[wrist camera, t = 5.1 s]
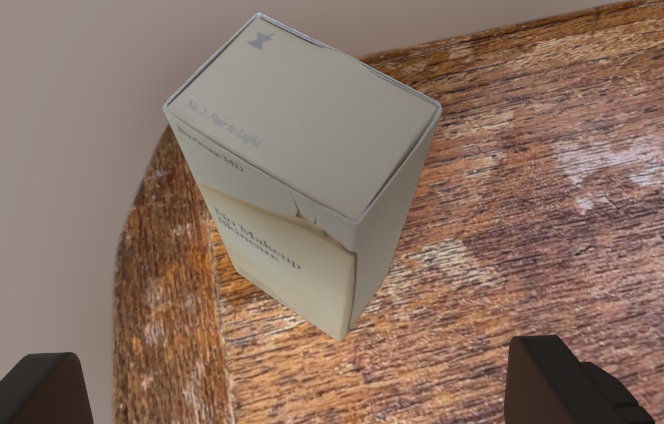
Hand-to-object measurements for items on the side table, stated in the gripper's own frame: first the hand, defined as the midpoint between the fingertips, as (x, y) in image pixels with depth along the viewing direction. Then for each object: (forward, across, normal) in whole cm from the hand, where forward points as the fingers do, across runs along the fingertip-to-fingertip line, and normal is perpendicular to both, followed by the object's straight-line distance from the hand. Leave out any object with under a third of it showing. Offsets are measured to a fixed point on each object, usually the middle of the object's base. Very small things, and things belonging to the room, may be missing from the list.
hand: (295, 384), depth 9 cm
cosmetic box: (+14, 0, +4) cm, 14 cm away
